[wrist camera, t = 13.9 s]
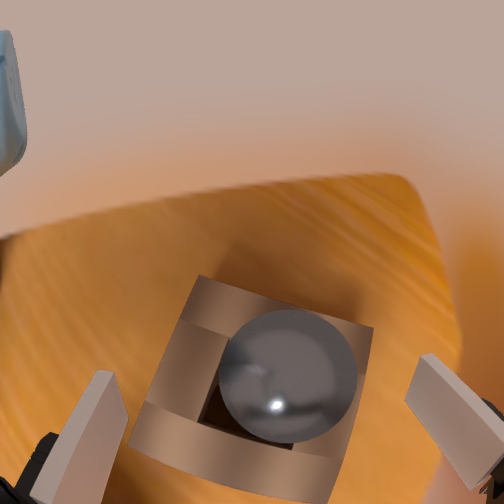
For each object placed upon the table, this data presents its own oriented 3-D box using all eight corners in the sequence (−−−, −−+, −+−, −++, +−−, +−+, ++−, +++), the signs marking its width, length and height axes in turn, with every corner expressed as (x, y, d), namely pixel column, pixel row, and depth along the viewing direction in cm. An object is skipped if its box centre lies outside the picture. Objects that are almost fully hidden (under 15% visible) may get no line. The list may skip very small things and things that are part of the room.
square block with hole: (145, 441, 17) (126, 445, 13) (203, 297, 23) (198, 274, 20) (310, 491, 15) (326, 505, 12) (352, 342, 22) (373, 328, 18)
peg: (220, 413, 18) (198, 418, 7) (238, 366, 20) (245, 293, 9) (272, 429, 18) (338, 454, 6) (288, 381, 20) (367, 328, 8)
